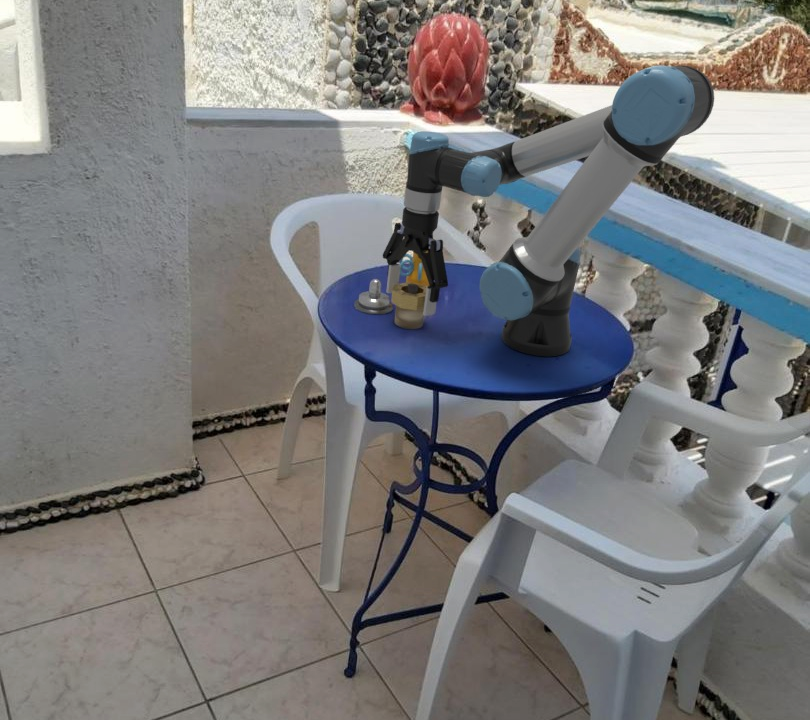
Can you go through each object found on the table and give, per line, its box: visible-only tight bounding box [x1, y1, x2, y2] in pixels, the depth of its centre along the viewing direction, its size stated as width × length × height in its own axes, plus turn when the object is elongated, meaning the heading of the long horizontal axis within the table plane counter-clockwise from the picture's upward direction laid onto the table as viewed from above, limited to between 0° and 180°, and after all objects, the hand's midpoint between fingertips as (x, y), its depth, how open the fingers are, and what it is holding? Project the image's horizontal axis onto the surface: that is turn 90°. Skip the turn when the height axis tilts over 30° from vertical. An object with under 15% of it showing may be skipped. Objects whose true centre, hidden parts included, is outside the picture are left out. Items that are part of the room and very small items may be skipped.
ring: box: [390, 281, 427, 310], centre depth 169 cm, size 8×8×3 cm
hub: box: [353, 278, 394, 316], centre depth 177 cm, size 9×9×7 cm
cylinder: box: [399, 250, 429, 287], centre depth 187 cm, size 12×10×15 cm
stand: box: [394, 284, 425, 330], centre depth 170 cm, size 6×6×9 cm
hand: (409, 303), depth 170 cm, fingers open, 13 cm apart
